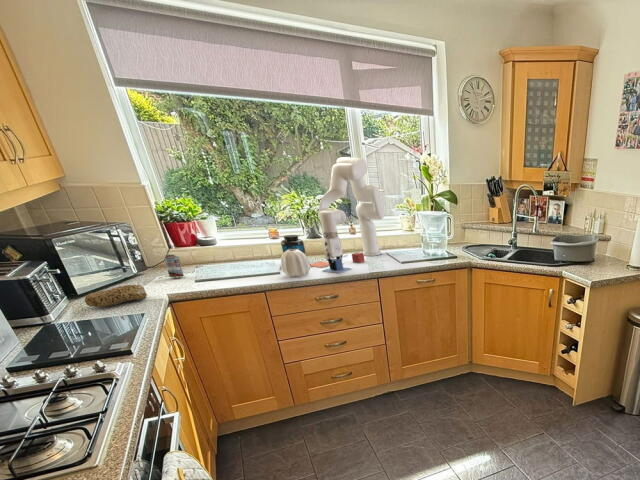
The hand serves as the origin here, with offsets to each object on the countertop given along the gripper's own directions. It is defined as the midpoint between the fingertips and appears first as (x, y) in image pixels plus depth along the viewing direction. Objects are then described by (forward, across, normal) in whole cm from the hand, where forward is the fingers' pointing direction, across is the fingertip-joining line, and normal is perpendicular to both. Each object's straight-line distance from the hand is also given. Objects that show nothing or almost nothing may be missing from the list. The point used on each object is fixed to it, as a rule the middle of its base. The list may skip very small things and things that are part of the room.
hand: (336, 268), depth 236 cm
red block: (+1, +23, +2) cm, 23 cm away
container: (+2, +3, +31) cm, 31 cm away
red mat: (+1, +7, +17) cm, 18 cm away
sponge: (+2, -84, +46) cm, 96 cm away
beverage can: (+2, -45, +64) cm, 78 cm away
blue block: (0, 0, 0) cm, 0 cm away
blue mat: (+1, 0, 0) cm, 1 cm away
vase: (+2, -17, +12) cm, 21 cm away
